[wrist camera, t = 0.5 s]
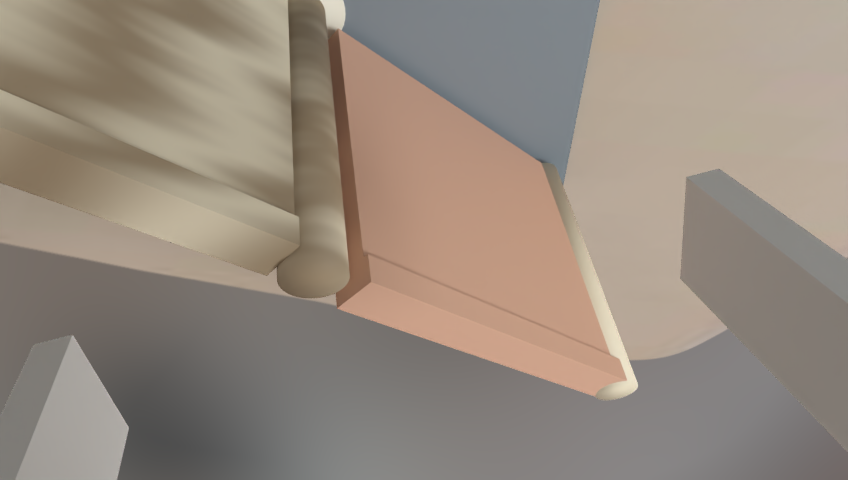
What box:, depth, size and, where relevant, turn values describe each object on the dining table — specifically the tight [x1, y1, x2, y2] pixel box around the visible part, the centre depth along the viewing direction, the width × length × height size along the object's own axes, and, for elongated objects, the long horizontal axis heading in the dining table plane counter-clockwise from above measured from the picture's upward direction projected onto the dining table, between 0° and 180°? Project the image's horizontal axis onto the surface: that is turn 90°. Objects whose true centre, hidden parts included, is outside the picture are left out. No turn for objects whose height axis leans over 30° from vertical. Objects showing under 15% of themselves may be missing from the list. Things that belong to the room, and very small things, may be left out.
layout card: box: [170, 0, 600, 243], centre depth 27 cm, size 23×22×1 cm
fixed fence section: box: [0, 0, 350, 298], centre depth 19 cm, size 14×2×13 cm, turn 47°
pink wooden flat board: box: [328, 28, 638, 400], centre depth 27 cm, size 15×2×13 cm, turn 47°
